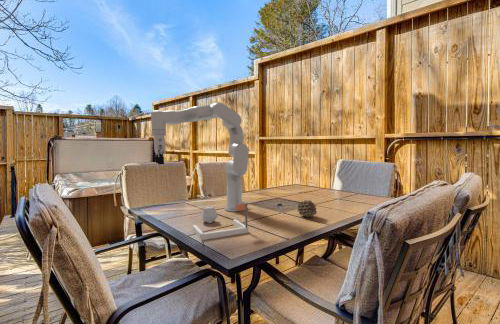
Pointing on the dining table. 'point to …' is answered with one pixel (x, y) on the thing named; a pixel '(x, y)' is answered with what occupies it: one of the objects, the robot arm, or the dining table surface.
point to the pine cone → (306, 208)
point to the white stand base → (229, 232)
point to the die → (209, 214)
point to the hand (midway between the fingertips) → (159, 163)
